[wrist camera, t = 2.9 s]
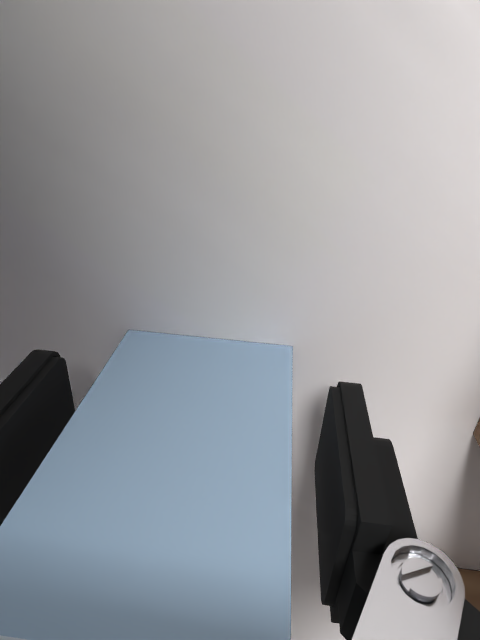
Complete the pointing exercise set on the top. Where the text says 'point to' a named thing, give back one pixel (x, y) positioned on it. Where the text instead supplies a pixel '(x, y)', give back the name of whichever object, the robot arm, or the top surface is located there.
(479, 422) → the walnut domino
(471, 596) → the walnut domino
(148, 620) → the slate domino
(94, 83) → the top surface
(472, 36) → the top surface
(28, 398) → the robot arm
